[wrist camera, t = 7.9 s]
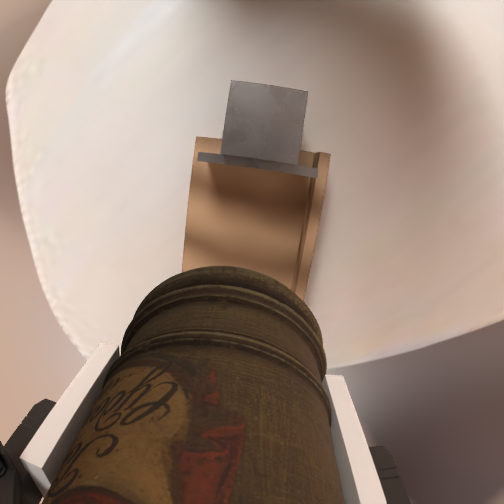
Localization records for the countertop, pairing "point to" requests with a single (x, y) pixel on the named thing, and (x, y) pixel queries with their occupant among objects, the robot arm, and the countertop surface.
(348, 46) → the countertop surface
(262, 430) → the container
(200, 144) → the rack
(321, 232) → the countertop surface
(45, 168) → the countertop surface
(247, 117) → the bookend
